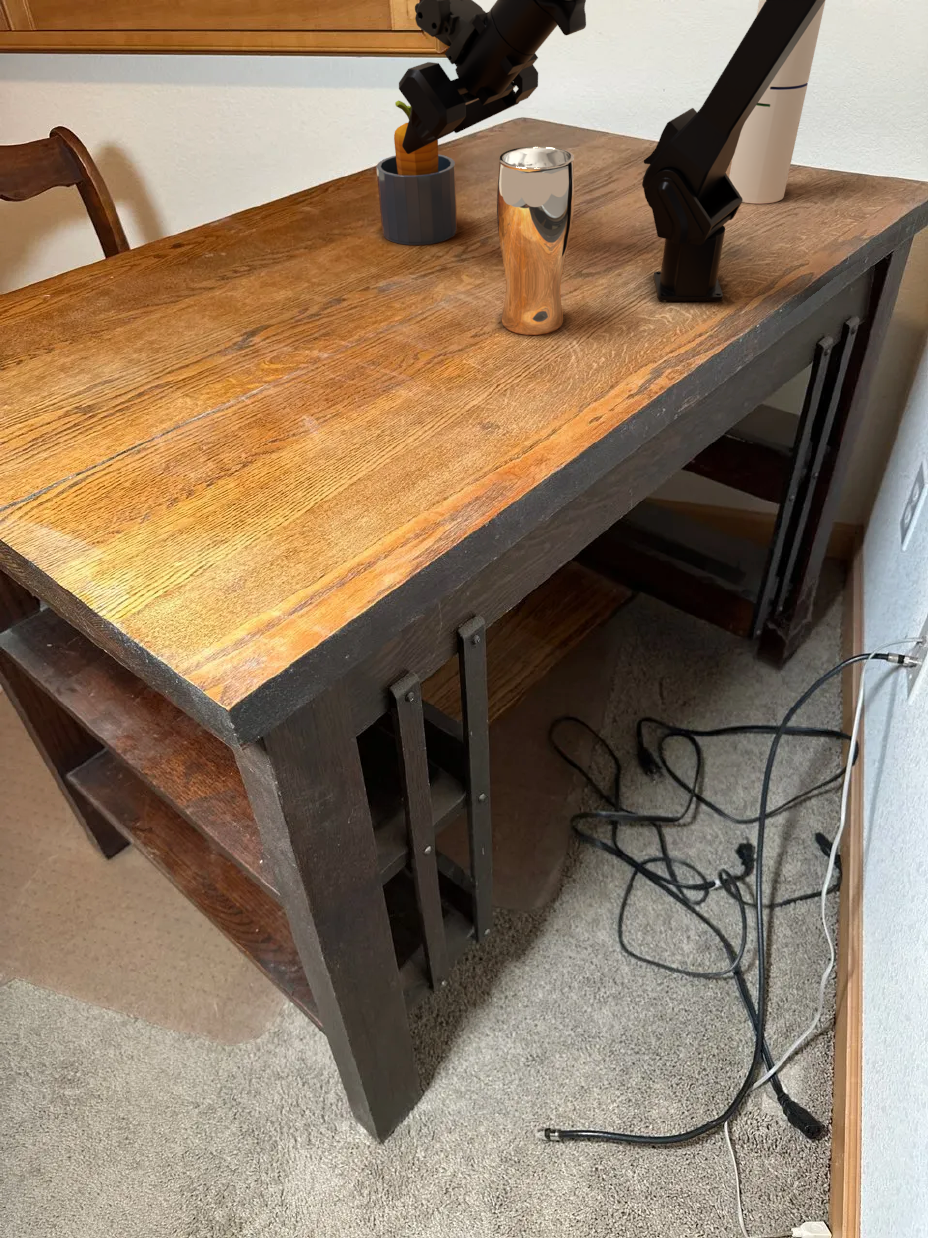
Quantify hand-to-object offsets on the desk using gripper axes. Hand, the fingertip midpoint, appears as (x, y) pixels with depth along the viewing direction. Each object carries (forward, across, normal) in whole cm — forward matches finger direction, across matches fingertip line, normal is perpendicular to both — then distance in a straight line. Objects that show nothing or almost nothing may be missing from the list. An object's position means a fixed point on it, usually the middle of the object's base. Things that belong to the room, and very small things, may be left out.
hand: (430, 139), depth 97 cm
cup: (+9, 0, +6) cm, 11 cm away
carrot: (+9, 0, +6) cm, 10 cm away
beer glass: (-8, +15, +23) cm, 29 cm away
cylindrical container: (-12, -32, +27) cm, 44 cm away
